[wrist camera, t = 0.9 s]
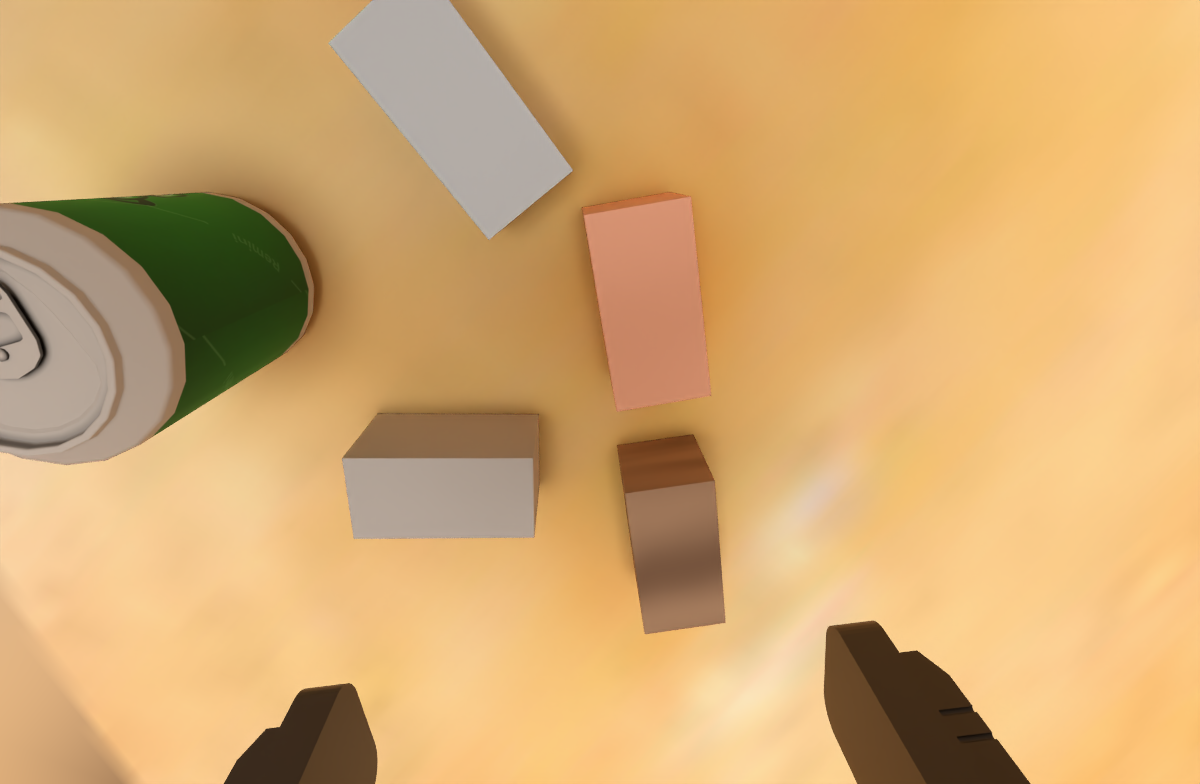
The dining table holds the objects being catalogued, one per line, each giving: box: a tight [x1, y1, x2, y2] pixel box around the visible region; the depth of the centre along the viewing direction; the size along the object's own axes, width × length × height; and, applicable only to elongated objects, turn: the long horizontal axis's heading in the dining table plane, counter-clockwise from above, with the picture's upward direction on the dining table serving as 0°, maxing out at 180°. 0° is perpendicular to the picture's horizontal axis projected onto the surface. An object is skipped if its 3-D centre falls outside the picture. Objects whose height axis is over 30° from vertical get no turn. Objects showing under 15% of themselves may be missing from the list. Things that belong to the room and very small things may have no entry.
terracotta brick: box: [582, 192, 711, 412], centre depth 25 cm, size 8×4×5 cm, turn 9°
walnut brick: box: [617, 434, 726, 634], centre depth 30 cm, size 8×4×5 cm, turn 8°
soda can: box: [0, 192, 314, 465], centre depth 21 cm, size 8×8×12 cm
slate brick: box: [342, 413, 539, 539], centre depth 28 cm, size 8×4×5 cm, turn 89°
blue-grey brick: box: [329, 0, 573, 240], centre depth 22 cm, size 8×4×5 cm, turn 37°
